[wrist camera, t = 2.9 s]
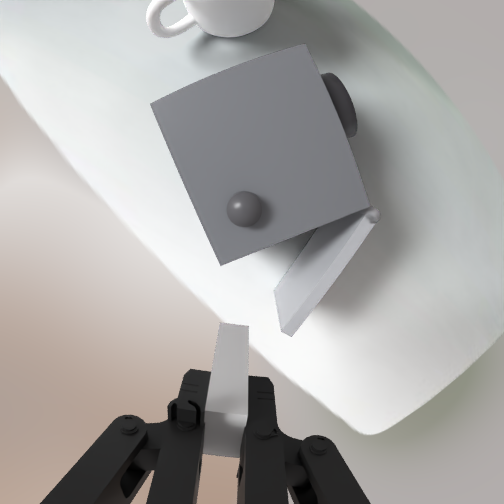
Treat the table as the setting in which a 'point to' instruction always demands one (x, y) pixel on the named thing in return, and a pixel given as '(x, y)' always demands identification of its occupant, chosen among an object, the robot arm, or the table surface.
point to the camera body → (264, 151)
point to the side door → (320, 266)
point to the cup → (212, 17)
